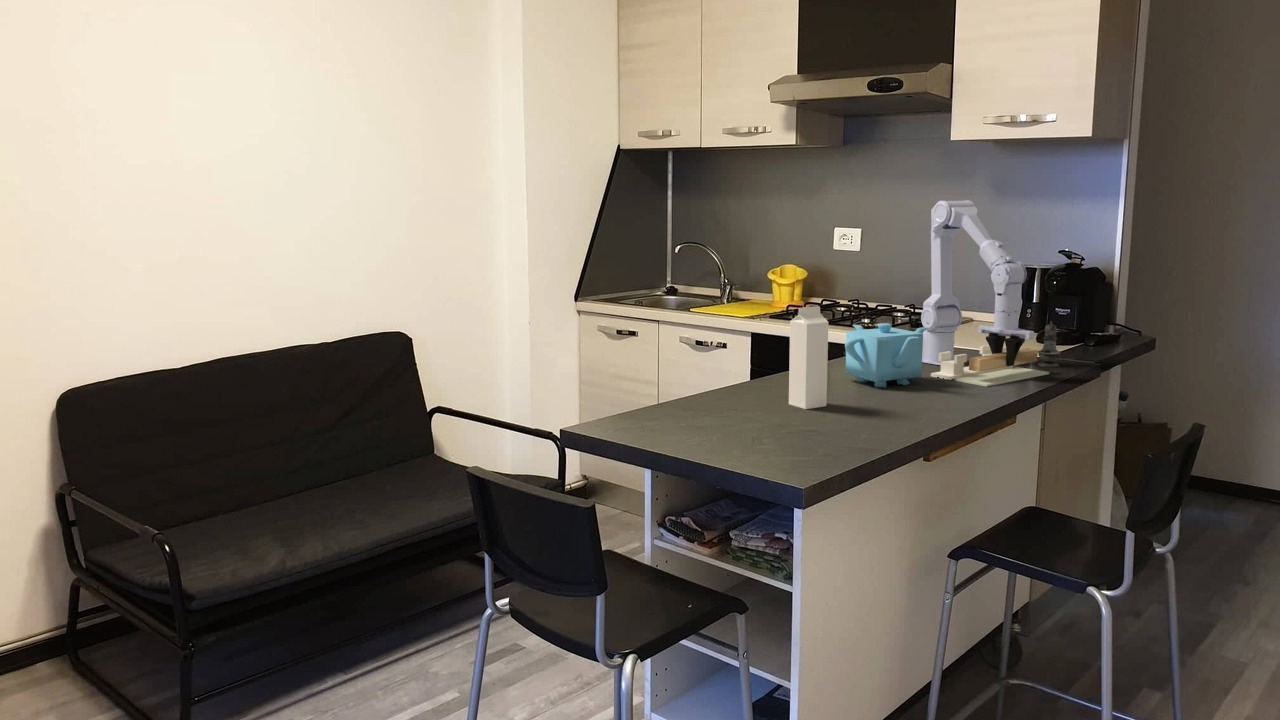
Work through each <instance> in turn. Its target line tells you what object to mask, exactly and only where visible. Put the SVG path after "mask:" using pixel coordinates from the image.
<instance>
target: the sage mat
mask: <svg viewBox="0 0 1280 720" xmlns="http://www.w3.org/2000/svg"><path fill="white" fill-rule="evenodd" d="M1046 375H1050V371H1045V370H1038V369H1031V368H1026V367H1025V368H1024V367H1020V366H1019V367H1013V368H1011V369H1005V370H1000V371H995V372H989V373H984V374H979V375H973V376H968V377H963V378H957V379H954V380H955V382H960V383H966V384H970V385H976V386H982V387H991V386H996V385H997V386H998V385H1001V384H1006V383H1012V382H1017V381H1020V380H1021V381H1023V380H1026V379H1027V380H1028V379H1031V378H1036V377H1042V376H1046Z"/></svg>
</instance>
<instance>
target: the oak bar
mask: <svg viewBox="0 0 1280 720" xmlns="http://www.w3.org/2000/svg"><path fill="white" fill-rule="evenodd" d="M1038 351H1039V350H1038V349H1037V348H1036V349H1035V348H1028V347H1026V348H1020V349H1019V351H1018V354H1017V356H1016V359H1015V362H1014V365H1013V367H1014V366H1018V365H1023V364H1029V363H1030V364H1031V363H1034V362H1038V356H1039V353H1038ZM968 361H969V362H968V366H969V370H971V371H977V372H981V371H987V370H992V369H997V368H1003V367H1008V366H1007V365H1006V352H1002V353H996V354H990V355H985V356H982V355H980V356H975V357H969V359H968Z"/></svg>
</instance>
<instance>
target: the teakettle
mask: <svg viewBox="0 0 1280 720" xmlns="http://www.w3.org/2000/svg"><path fill="white" fill-rule="evenodd" d="M892 325H893V324H892V323H887V322H885V323H877V326H878V327H877V328H869V329H865V328H864V327H863V326H862V325H859V324H852V327H854V329H855V330H847V331H846V335H845V336H846V338H845V339H846V340H845V341H846V342H844V343H845V344H844V349H845V375H849V376H852V377H856V378H857V379H856V381H855V382H857V383H868V382H873V383H874V384H873V387H874V386H875V387H874V388H878V387H884V388H887V381H895V380H896V383H897V384H898V385H900V384H902V385H903V386H909V385H911V384H910V381H909V380H908V379H915V378H922V372H923V370H922V369H923V362H922V352H923V332H924V331H925V330H927V329H928V328H929V327H924V326H922V327H918V328H916V330H915V331H912V330H906V329H901V328H895V327H892ZM908 384H909V385H908ZM902 385H901V386H902Z"/></svg>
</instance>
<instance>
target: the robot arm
mask: <svg viewBox="0 0 1280 720" xmlns="http://www.w3.org/2000/svg"><path fill="white" fill-rule="evenodd" d="M930 211H931V213H930V214H931V221H930V222H931V223H930V224H931V229H930V244H931V245H930V253H931V254H930V256H931V257H930V258H931V260H930V261H931V262H930V263H931V264H930V265H931V266H930V267H931V273H930V274H931V294H930V296H929V297H928V298H927V299H925V300H924V302H923V303H922V305H923V306H922V307H923V308H922V311H921V315H920V320H921V323H922V327H929V328H928V329H927V330H925V331H924V332H923V352H922V363H924V364H930V365H931V364H932V365H937V366H941V361H938V357H939V353H941V352H948V351H950V352H951V359H952V360H954V355H955V354H954V351H955V332H956V331H958V327H960V325H961V323H962V321H963V313H962V310H961V307H960V300H958V298H957V297H955V296H954V294H953V292H954V291H953V236H954V235H955V234H956V233H957V232H958V231H960V230H961V229H964V231H965V232H966V234H968V235H969V236H970V237H971V239H972V240H973V241H974V242H975V244H976V245H977V246H978V247H979V251H978V254H979V256H980V258H981V259H982V260H983V261H984V263H985V264H986V266H987V267H988V268H989V270H990V271H991V274H990V277H991V278H990V279H991V282H992V284H993V291H994V293H995V297H994V298H995V300H994V319H993V325H988V324H987V325H985V324H981V325H978V330H977V331H978V334H986V335H987V336H985V340H986V342H987V345H989V346H990V349H991V352H992V354H996V353H1002V351H1003V347H1004V344H1005V347H1006V365H1007V366H1013V365H1014V362H1015V359H1016V356H1017V354H1018V351H1019V350H1020V349H1022V348H1021V347H1022V346H1023V344H1024V343H1025V341H1026V340H1029V341H1030V340H1034V339H1035V331H1033V330H1028V329H1023V328H1019V319H1020V318H1019V316H1020V303H1021V302H1020V298H1021V285H1022V284H1024V283H1025V282H1026V279H1027V274H1028V272H1027V269H1026V266H1025V265H1024V263H1023V262H1021V261H1017V260H1016V259H1013V257H1012V255H1011V254H1009V252H1008V251H1007V250H1006V248H1005V247H1004V243H1003V242H1002V241H999V240H997V239H993V238H992V237H991V236H990V234H989V232H988V231H987V228H986V227H985V226H984V224H983V222H982V221H981V219H980V218H979V216H978V215H979V209H978V208H977V206H975V203H973V201H972V200H968V199H967V200H939V201H938V202H937V203H936V204H934V206H933V207H932V208H931V210H930ZM1014 366H1015V365H1014ZM1014 366H1013V367H1014Z"/></svg>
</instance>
